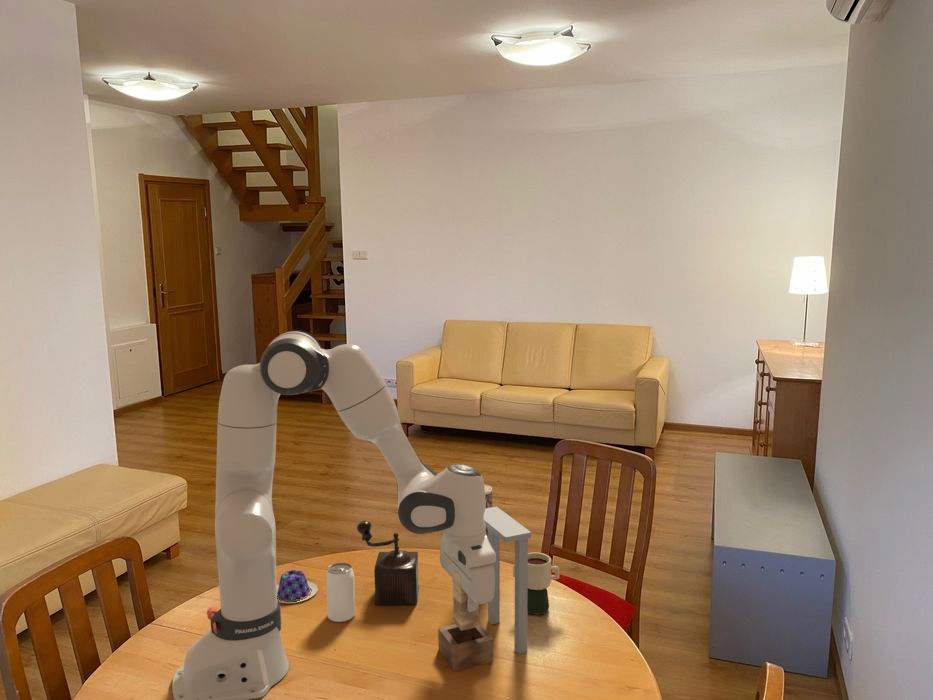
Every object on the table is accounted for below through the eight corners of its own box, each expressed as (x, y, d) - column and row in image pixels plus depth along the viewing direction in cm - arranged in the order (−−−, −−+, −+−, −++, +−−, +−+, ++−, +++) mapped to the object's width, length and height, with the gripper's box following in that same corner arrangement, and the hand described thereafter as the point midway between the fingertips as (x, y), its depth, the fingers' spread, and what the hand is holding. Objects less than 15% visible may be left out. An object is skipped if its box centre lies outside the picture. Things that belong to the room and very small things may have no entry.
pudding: (277, 582, 183) (276, 563, 182) (322, 583, 182) (322, 564, 182) (262, 605, 171) (261, 585, 170) (310, 606, 170) (309, 586, 170)
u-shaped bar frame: (505, 659, 148) (505, 537, 144) (473, 622, 162) (472, 510, 158) (530, 652, 150) (531, 532, 146) (496, 617, 164) (496, 506, 160)
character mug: (557, 603, 171) (558, 552, 169) (559, 618, 164) (560, 566, 162) (513, 601, 172) (513, 551, 170) (512, 616, 165) (513, 564, 163)
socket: (454, 671, 144) (454, 649, 143) (438, 649, 151) (438, 628, 151) (493, 661, 147) (493, 639, 146) (475, 639, 155) (475, 618, 154)
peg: (461, 630, 146) (460, 576, 144) (453, 621, 149) (452, 568, 147) (478, 626, 147) (478, 572, 145) (470, 617, 151) (470, 564, 149)
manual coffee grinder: (419, 583, 181) (418, 517, 178) (417, 605, 170) (416, 535, 167) (359, 584, 181) (357, 518, 178) (353, 606, 170) (350, 536, 167)
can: (349, 624, 162) (347, 575, 160) (323, 621, 163) (321, 573, 161) (359, 610, 168) (357, 563, 166) (333, 607, 169) (332, 560, 167)
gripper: (432, 526, 154) (433, 585, 156) (471, 564, 135) (471, 630, 137) (458, 521, 156) (459, 579, 158) (500, 558, 138) (500, 623, 140)
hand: (465, 603), depth 148 cm, fingers closed on peg, 4 cm apart
